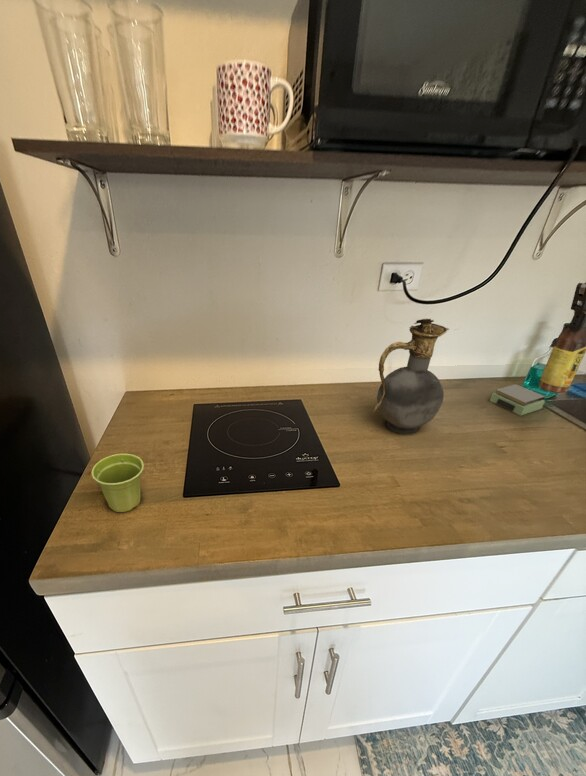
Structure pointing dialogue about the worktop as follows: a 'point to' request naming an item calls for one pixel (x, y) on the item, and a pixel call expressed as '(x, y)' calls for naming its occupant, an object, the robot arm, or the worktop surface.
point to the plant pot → (120, 480)
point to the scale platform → (520, 394)
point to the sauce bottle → (564, 360)
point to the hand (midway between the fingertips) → (579, 328)
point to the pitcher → (411, 382)
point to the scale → (516, 404)
